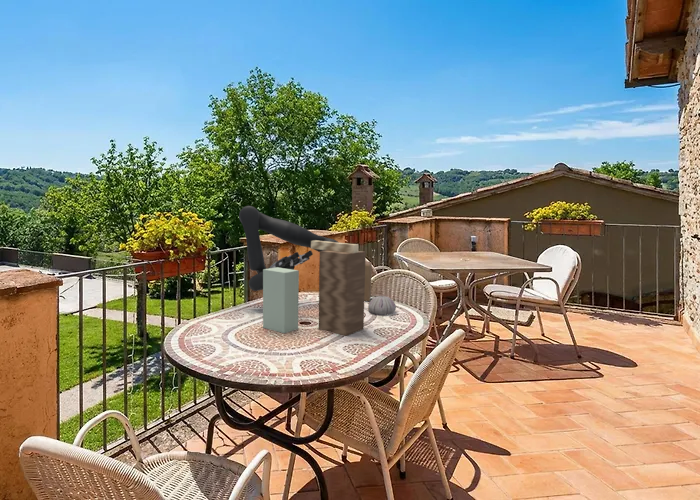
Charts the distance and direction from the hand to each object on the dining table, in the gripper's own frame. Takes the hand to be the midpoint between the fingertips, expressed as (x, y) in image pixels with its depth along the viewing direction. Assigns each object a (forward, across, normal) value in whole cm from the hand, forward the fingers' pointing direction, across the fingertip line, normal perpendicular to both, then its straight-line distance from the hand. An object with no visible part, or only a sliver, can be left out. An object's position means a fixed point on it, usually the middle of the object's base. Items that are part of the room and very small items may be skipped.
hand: (305, 253), depth 189 cm
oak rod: (+15, 0, +6) cm, 16 cm away
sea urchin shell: (0, +34, +35) cm, 49 cm away
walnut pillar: (+3, 0, +36) cm, 36 cm away
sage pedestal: (-14, -15, +26) cm, 33 cm away
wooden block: (-19, +50, +23) cm, 59 cm away
